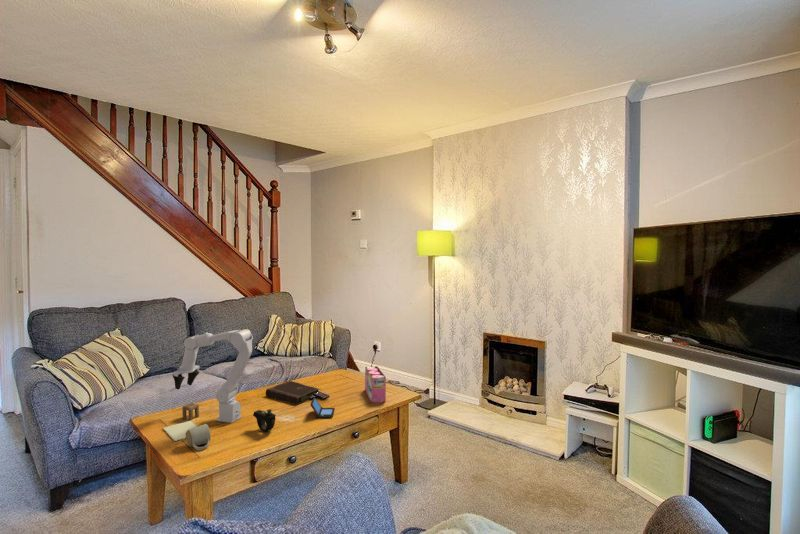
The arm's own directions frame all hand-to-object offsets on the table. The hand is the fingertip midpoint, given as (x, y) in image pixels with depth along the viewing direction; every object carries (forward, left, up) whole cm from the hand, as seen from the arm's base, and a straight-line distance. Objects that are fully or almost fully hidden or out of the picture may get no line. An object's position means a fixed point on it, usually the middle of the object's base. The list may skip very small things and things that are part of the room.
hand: (183, 386), depth 212 cm
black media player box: (-36, -43, -15) cm, 58 cm away
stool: (-5, +1, -15) cm, 15 cm away
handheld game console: (-63, -23, -15) cm, 69 cm away
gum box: (-79, -57, -15) cm, 98 cm away
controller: (-48, +3, -15) cm, 50 cm away
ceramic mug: (-31, +24, -15) cm, 42 cm away
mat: (-14, +15, -15) cm, 25 cm away
